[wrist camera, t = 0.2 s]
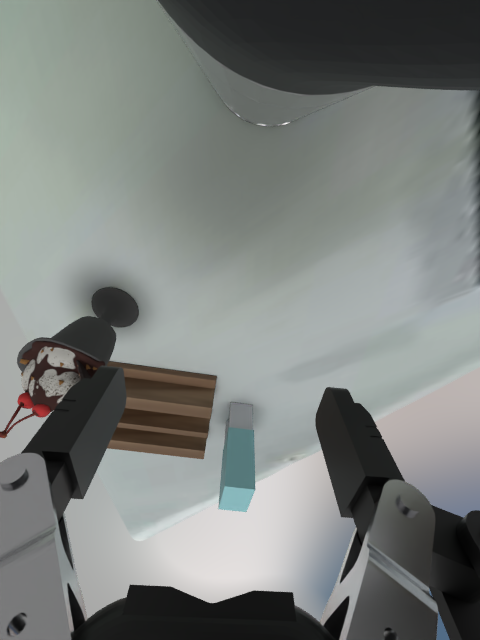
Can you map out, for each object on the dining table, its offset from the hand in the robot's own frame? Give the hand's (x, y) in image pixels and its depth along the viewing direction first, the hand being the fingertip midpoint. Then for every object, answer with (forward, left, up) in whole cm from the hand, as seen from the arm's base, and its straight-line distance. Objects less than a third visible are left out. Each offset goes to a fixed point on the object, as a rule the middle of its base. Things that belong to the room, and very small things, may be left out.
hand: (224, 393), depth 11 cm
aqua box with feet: (+24, +4, -18) cm, 30 cm away
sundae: (+9, -12, -18) cm, 23 cm away
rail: (+24, -8, -18) cm, 31 cm away
